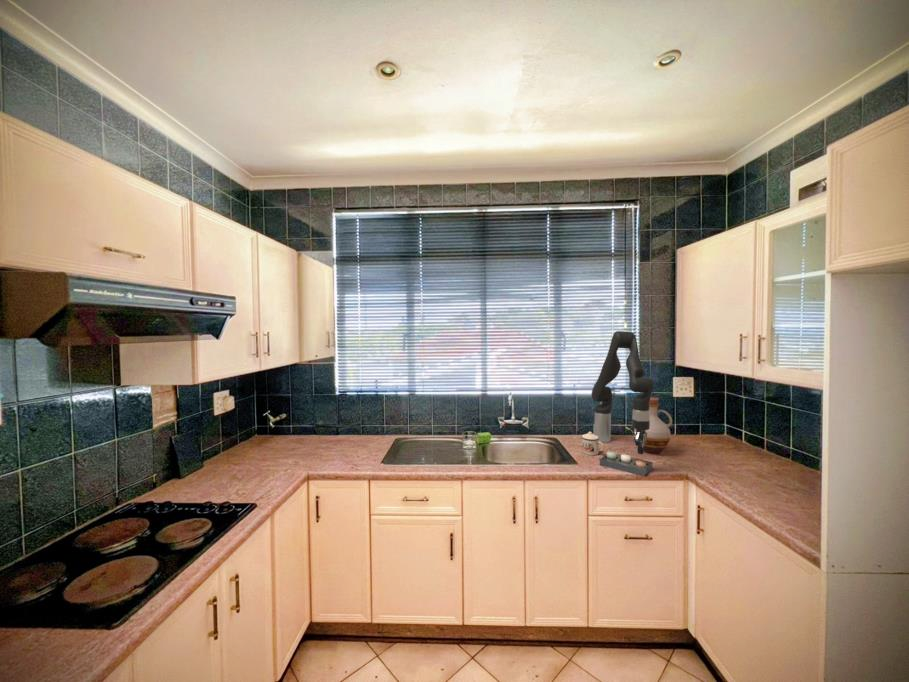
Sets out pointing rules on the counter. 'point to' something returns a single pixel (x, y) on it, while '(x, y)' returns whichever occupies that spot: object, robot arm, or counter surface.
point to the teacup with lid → (591, 444)
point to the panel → (626, 465)
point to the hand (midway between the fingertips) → (640, 453)
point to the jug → (656, 430)
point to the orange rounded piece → (641, 463)
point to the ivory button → (626, 458)
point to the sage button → (611, 455)
